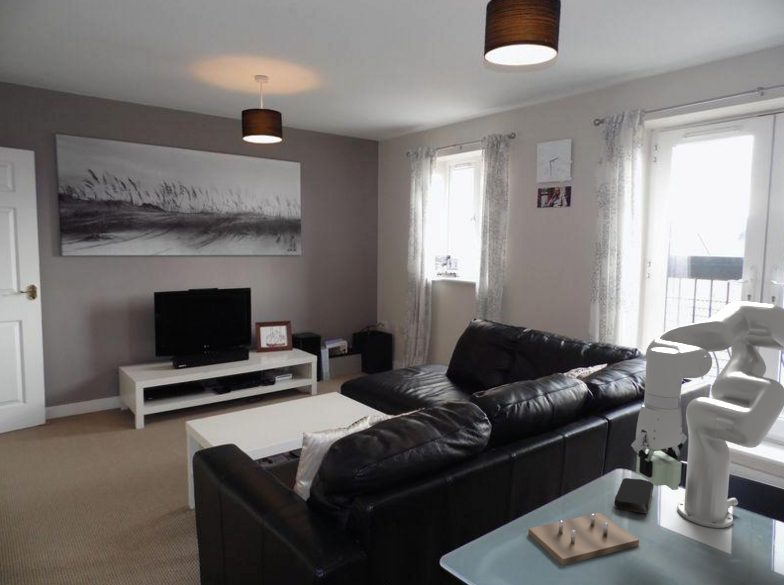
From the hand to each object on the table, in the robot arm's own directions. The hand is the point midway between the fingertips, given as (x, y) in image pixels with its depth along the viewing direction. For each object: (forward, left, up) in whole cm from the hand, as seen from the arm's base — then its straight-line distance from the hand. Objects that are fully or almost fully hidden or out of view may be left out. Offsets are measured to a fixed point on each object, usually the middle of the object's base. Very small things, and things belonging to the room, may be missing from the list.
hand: (657, 471), depth 125 cm
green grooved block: (0, 0, -1) cm, 1 cm away
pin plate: (+16, -6, -17) cm, 24 cm away
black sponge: (-10, -16, -18) cm, 26 cm away
